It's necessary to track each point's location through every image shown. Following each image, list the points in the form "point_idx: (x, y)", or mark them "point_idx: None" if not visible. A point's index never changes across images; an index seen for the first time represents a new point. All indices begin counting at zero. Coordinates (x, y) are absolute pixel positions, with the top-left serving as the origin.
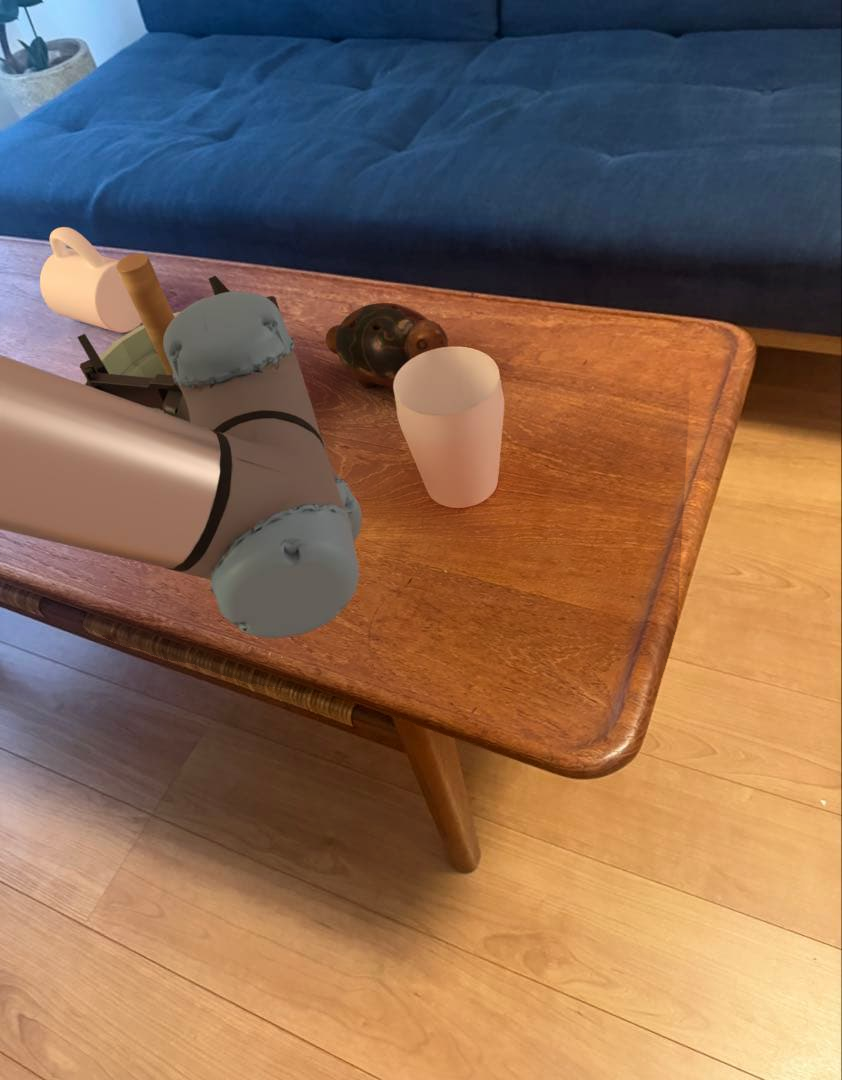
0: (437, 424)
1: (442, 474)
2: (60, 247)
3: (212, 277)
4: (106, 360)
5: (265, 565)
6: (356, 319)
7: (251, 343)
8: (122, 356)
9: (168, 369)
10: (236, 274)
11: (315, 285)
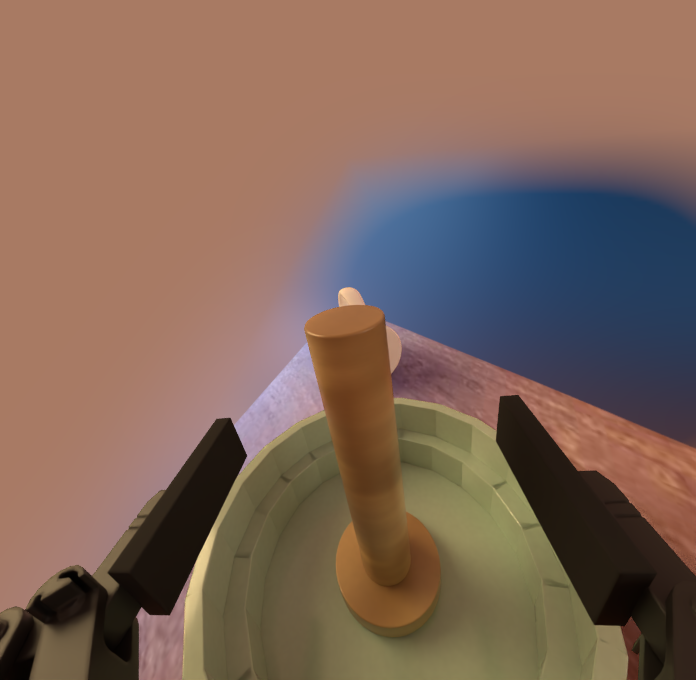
0: None
1: None
2: (344, 303)
3: (510, 397)
4: (303, 430)
5: None
6: None
7: None
8: (328, 428)
9: (353, 522)
10: (484, 364)
11: (593, 412)
